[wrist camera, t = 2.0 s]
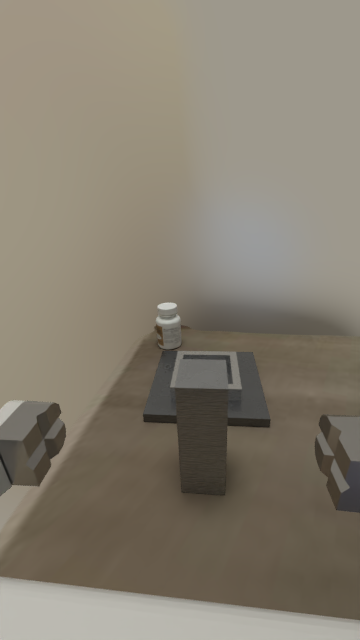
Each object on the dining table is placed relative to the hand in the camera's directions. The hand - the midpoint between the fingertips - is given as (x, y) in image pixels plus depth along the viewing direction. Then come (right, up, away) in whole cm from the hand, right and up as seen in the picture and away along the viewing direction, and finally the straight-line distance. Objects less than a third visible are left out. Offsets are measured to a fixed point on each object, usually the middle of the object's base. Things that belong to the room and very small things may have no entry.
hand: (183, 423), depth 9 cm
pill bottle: (-2, -1, +43) cm, 43 cm away
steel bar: (+2, -12, +19) cm, 22 cm away
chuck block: (+4, -6, +31) cm, 32 cm away
